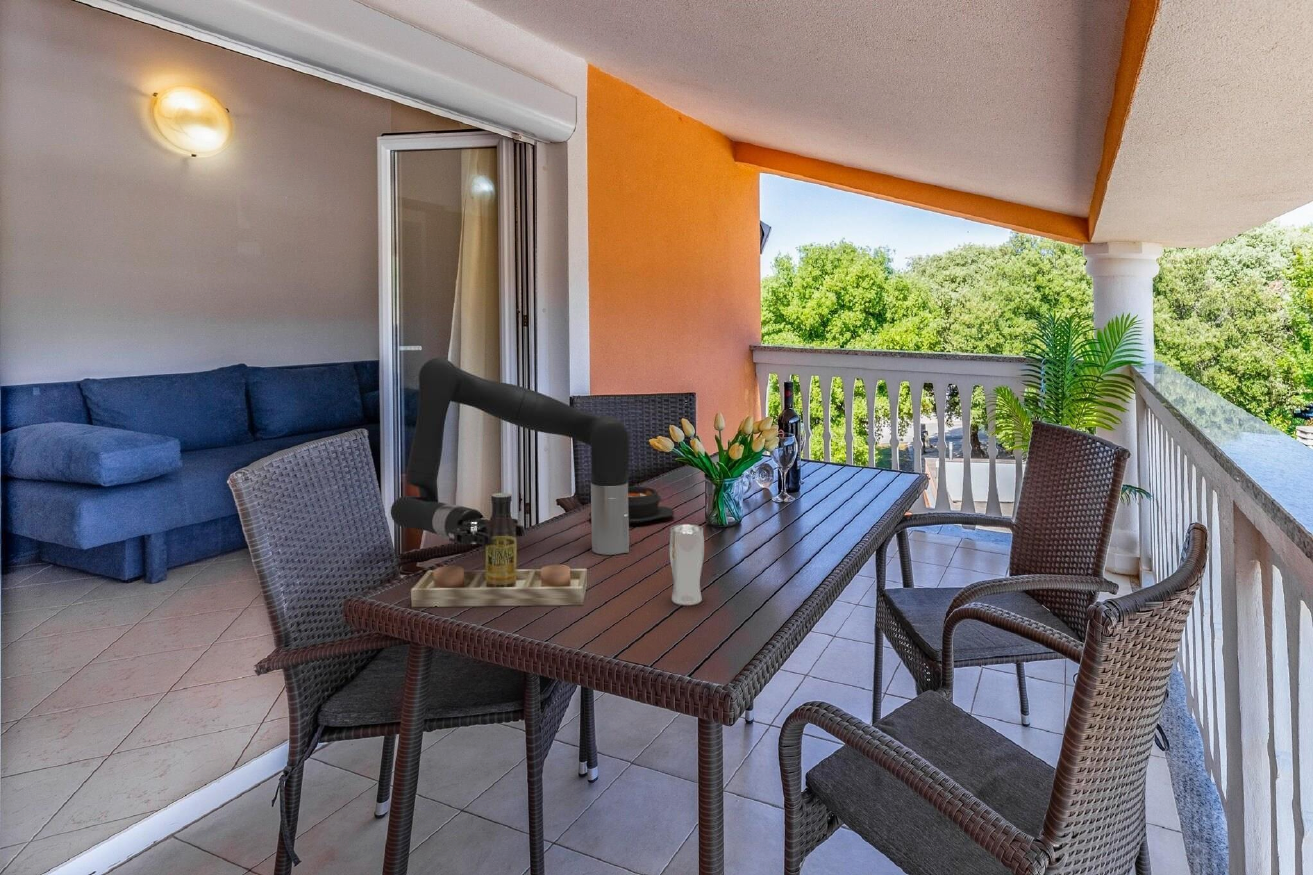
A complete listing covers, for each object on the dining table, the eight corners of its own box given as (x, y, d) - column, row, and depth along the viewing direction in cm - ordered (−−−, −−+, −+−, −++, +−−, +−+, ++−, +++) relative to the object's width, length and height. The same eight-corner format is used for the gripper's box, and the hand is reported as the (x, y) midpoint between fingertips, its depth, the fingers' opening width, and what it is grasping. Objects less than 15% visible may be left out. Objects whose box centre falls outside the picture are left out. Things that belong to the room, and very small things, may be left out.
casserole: (666, 509, 223) (666, 483, 222) (681, 525, 205) (681, 496, 204) (585, 514, 218) (585, 486, 217) (593, 530, 200) (592, 500, 199)
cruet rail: (587, 584, 157) (586, 559, 156) (582, 604, 145) (582, 578, 144) (429, 586, 156) (428, 561, 156) (411, 606, 145) (410, 580, 144)
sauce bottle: (485, 594, 147) (481, 498, 144) (486, 584, 153) (483, 492, 150) (518, 592, 148) (515, 497, 146) (518, 581, 154) (515, 490, 152)
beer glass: (667, 594, 151) (667, 524, 149) (701, 593, 151) (701, 523, 149) (671, 607, 144) (671, 533, 142) (706, 605, 145) (706, 532, 142)
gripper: (428, 512, 152) (477, 525, 142) (484, 500, 163) (532, 511, 153) (430, 547, 153) (478, 562, 143) (485, 532, 164) (533, 545, 154)
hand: (506, 536), depth 148 cm, fingers open, 8 cm apart
